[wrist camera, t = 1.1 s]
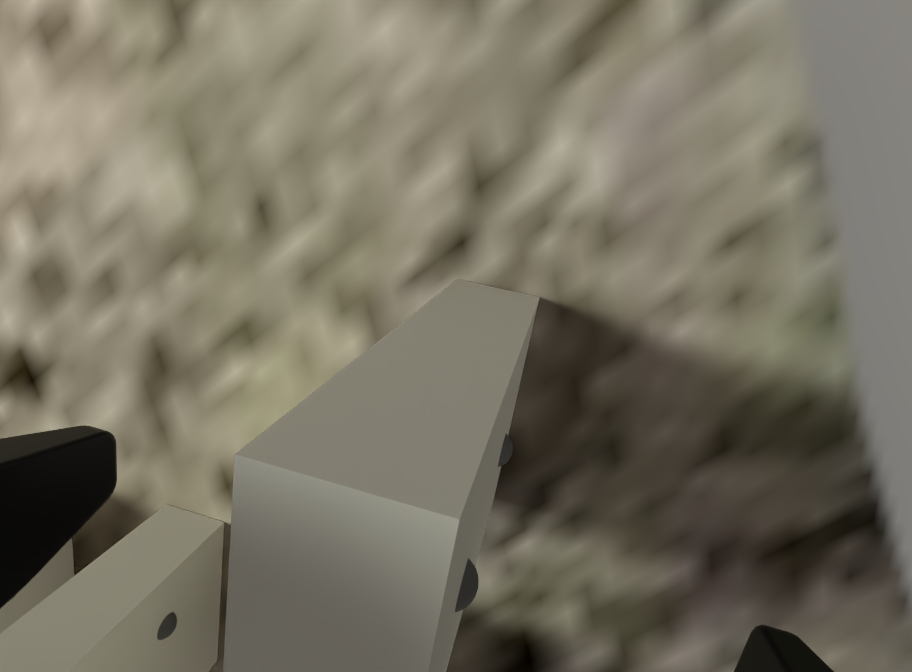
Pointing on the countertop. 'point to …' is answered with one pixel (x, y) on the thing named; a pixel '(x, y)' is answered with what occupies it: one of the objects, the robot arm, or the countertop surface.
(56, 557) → the domino
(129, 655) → the domino
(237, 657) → the domino
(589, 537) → the countertop surface
